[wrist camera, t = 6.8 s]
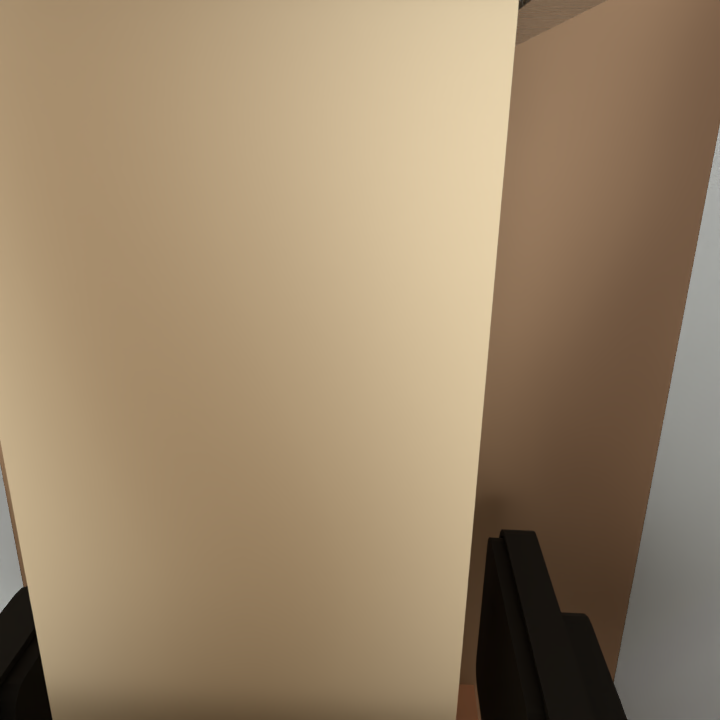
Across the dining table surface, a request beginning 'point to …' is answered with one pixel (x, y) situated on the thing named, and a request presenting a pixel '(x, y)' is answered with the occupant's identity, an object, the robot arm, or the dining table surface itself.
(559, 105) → the walnut board
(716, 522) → the dining table surface
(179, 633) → the tube
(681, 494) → the dining table surface
